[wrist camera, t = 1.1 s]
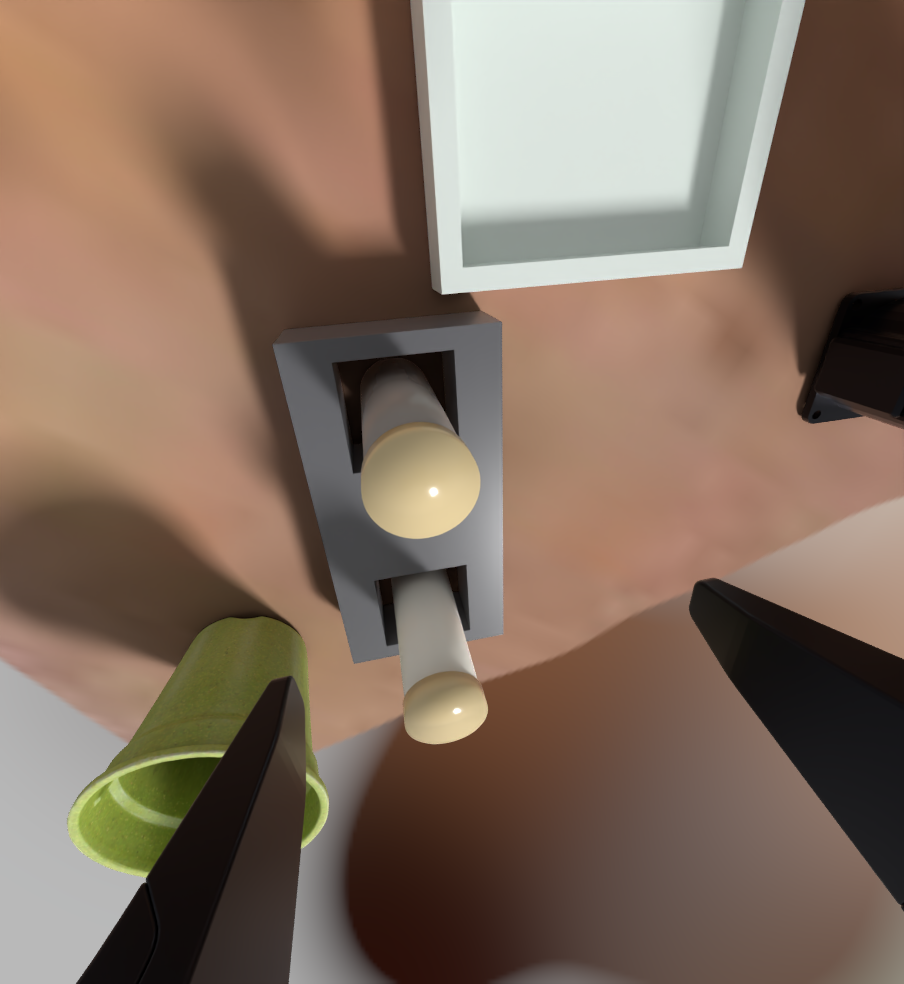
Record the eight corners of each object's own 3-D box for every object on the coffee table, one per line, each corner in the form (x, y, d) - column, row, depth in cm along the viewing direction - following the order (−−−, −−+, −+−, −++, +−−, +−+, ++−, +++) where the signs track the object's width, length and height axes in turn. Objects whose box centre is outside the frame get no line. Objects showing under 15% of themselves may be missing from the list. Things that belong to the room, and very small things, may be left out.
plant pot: (262, 726, 28) (230, 898, 21) (116, 663, 24) (9, 854, 16) (368, 644, 27) (375, 799, 19) (234, 559, 22) (174, 719, 15)
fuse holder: (481, 310, 19) (501, 321, 16) (488, 596, 27) (503, 634, 24) (284, 329, 18) (272, 344, 15) (353, 621, 26) (353, 663, 23)
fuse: (444, 540, 24) (486, 681, 16) (448, 585, 26) (488, 733, 18) (384, 550, 24) (399, 699, 16) (392, 595, 25) (409, 751, 17)
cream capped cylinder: (427, 350, 19) (478, 425, 11) (433, 421, 21) (482, 529, 13) (351, 358, 19) (351, 442, 11) (364, 430, 20) (371, 547, 12)
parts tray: (770, -80, 14) (836, -130, 12) (702, 265, 19) (741, 267, 17) (403, -90, 13) (412, -151, 11) (432, 288, 18) (442, 294, 16)
